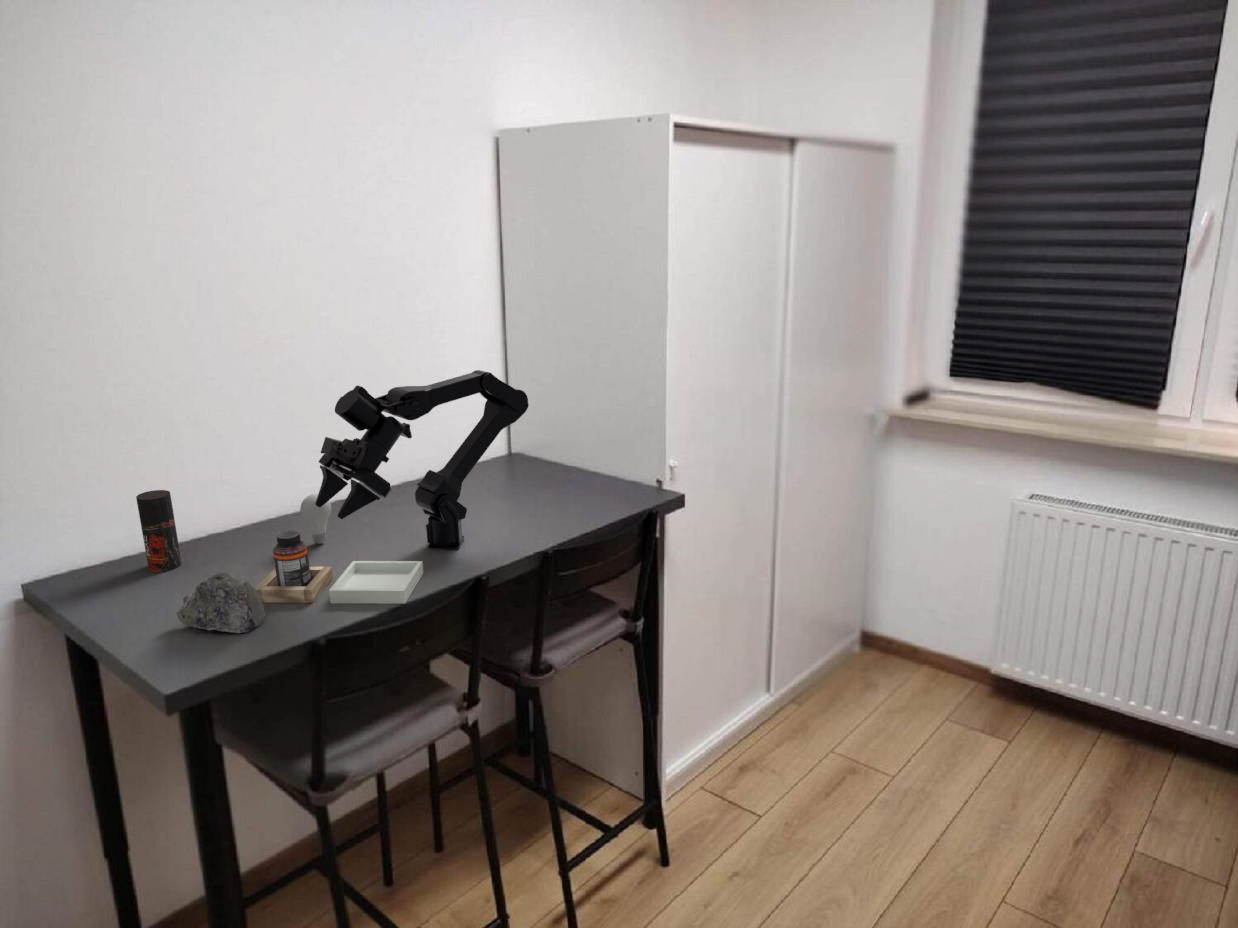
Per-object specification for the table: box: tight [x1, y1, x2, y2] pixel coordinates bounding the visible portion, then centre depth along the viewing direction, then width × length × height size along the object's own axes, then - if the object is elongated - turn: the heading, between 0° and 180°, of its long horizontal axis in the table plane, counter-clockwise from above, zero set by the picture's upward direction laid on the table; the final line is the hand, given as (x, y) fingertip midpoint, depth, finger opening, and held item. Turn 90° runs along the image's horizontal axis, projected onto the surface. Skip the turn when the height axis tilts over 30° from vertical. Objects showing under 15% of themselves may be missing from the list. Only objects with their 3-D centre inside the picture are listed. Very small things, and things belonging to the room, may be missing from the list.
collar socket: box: [254, 566, 334, 604], centre depth 166 cm, size 11×11×2 cm
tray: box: [328, 560, 424, 605], centre depth 166 cm, size 14×14×2 cm
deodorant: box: [135, 489, 182, 573], centre depth 176 cm, size 6×6×15 cm
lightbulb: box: [300, 493, 332, 545], centre depth 187 cm, size 6×6×11 cm
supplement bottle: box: [272, 530, 311, 587], centre depth 165 cm, size 6×6×11 cm
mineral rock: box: [176, 571, 266, 634], centre depth 152 cm, size 13×11×10 cm
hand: (328, 511), depth 168 cm, fingers open, 9 cm apart
